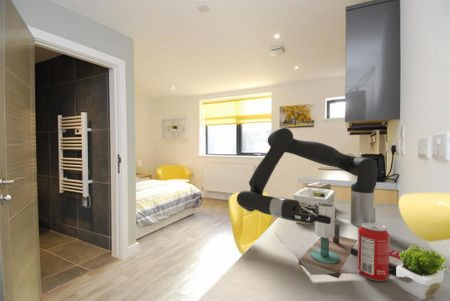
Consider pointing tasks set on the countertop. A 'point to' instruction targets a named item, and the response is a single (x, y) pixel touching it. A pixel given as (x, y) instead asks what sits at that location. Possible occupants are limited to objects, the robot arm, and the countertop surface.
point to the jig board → (330, 252)
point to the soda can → (373, 251)
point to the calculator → (393, 259)
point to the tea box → (319, 187)
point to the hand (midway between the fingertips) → (332, 218)
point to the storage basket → (313, 198)
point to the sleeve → (323, 228)
